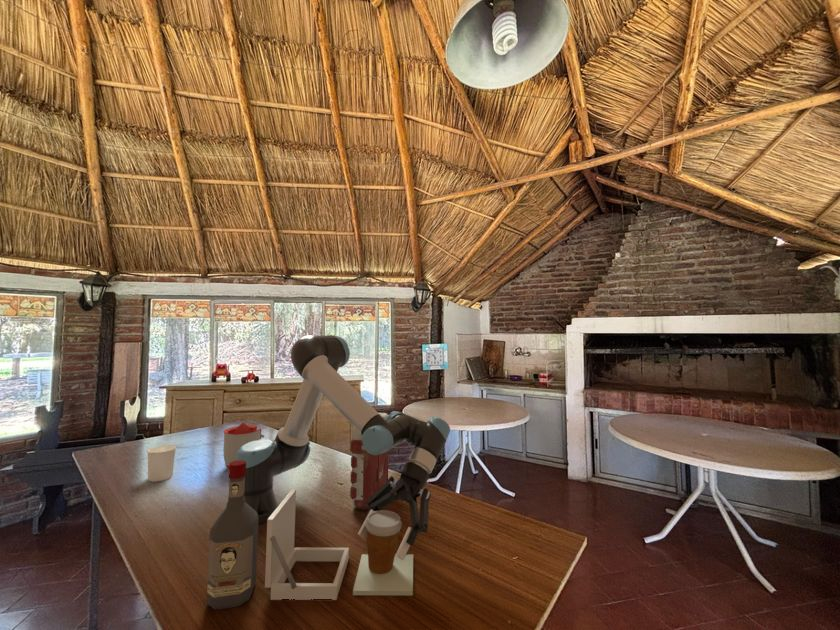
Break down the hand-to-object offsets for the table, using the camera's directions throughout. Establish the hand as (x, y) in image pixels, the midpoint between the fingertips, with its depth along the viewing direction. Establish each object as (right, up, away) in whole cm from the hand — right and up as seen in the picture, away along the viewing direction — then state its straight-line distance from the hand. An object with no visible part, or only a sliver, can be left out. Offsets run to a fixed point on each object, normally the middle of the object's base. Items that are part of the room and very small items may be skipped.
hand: (379, 546), depth 89 cm
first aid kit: (-8, -11, +44) cm, 46 cm away
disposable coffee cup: (0, -7, +3) cm, 8 cm away
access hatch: (-17, -8, 0) cm, 18 cm away
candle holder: (-99, -11, +61) cm, 117 cm away
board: (+1, -8, +1) cm, 8 cm away
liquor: (-33, -7, -6) cm, 35 cm away
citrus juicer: (-71, -12, +75) cm, 105 cm away
